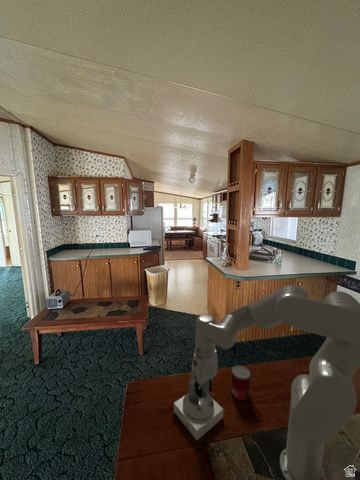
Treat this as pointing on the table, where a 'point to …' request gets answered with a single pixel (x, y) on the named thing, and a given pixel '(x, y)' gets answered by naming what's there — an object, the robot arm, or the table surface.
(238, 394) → the canned food
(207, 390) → the spacer
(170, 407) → the table surface
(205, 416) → the pan
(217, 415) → the scale
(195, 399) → the spacer
